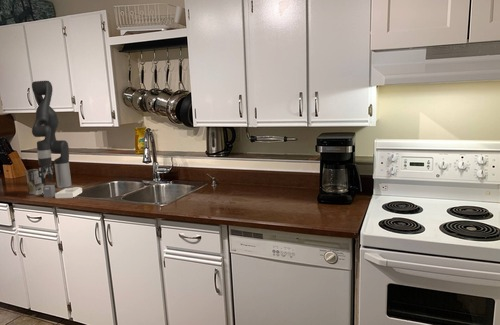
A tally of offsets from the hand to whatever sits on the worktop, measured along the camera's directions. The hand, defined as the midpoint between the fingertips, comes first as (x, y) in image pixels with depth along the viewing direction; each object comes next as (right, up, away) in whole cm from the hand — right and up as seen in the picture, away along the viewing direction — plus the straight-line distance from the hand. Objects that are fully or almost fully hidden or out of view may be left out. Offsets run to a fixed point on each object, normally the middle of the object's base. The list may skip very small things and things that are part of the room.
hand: (47, 182), depth 239 cm
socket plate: (+13, -9, +3) cm, 16 cm away
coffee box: (-13, -8, +11) cm, 19 cm away
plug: (+1, -9, +2) cm, 10 cm away
